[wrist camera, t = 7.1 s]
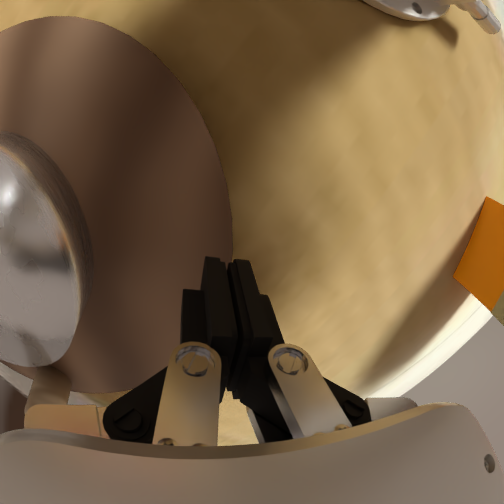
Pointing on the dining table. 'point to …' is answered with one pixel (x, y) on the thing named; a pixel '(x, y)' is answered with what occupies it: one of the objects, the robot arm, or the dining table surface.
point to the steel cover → (39, 255)
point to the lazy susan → (118, 192)
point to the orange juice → (486, 260)
